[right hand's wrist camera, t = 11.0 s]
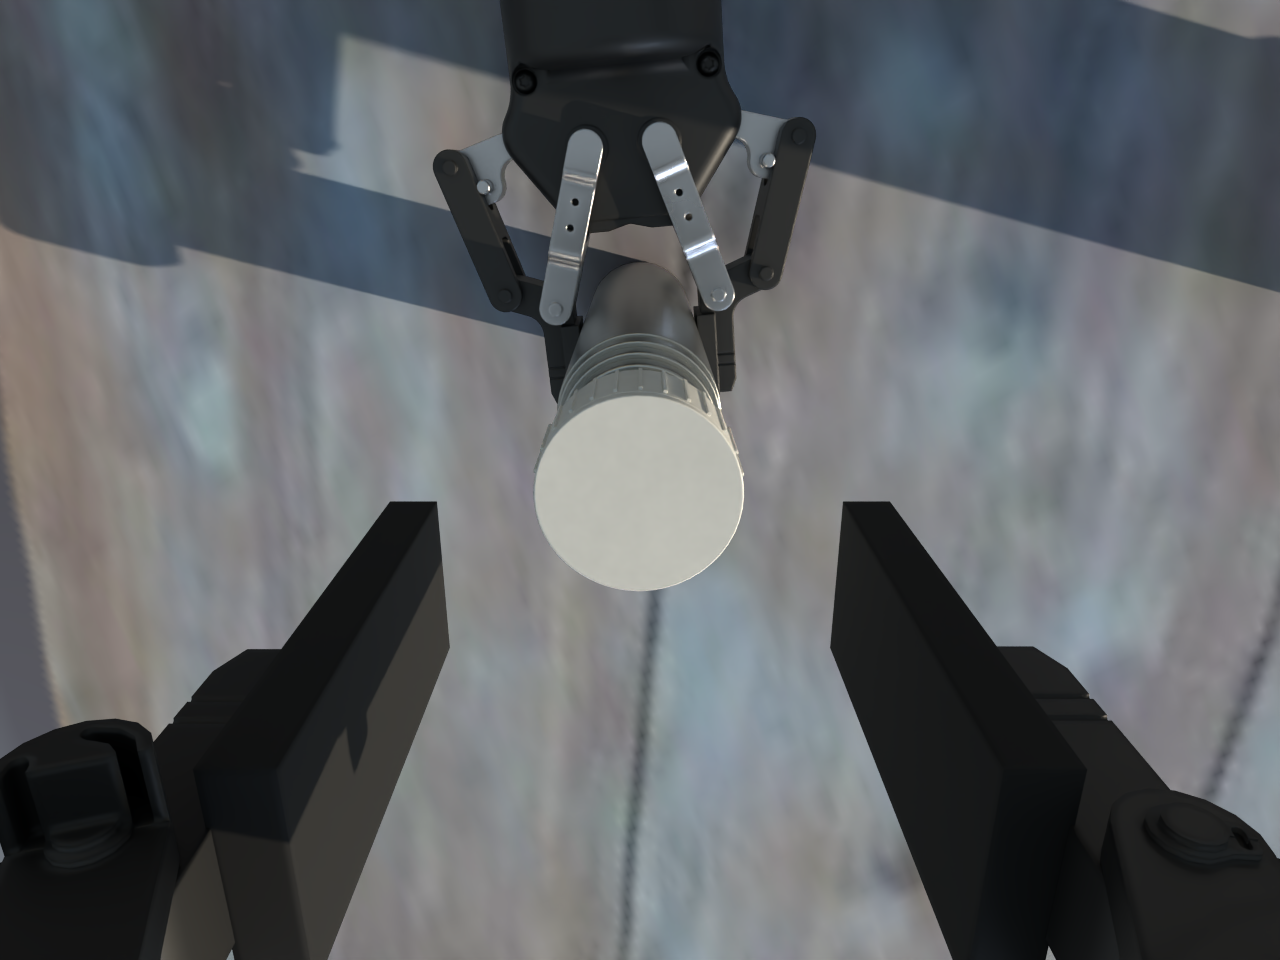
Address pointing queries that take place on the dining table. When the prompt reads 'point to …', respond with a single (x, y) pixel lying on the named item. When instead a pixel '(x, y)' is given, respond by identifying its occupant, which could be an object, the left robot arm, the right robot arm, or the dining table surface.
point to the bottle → (639, 332)
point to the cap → (638, 481)
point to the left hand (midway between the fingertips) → (646, 405)
